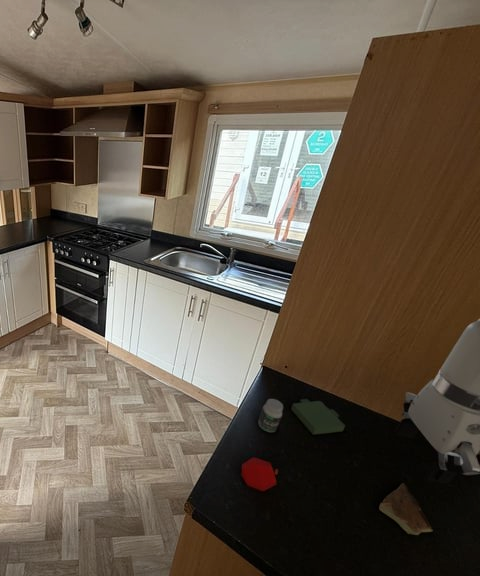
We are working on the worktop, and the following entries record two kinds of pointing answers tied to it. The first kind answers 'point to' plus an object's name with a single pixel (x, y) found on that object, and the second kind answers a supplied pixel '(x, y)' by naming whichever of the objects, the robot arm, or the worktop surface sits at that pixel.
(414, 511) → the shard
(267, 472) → the apple
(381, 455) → the worktop surface
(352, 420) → the worktop surface
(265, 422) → the pill bottle
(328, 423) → the rubber pad
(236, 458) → the worktop surface
